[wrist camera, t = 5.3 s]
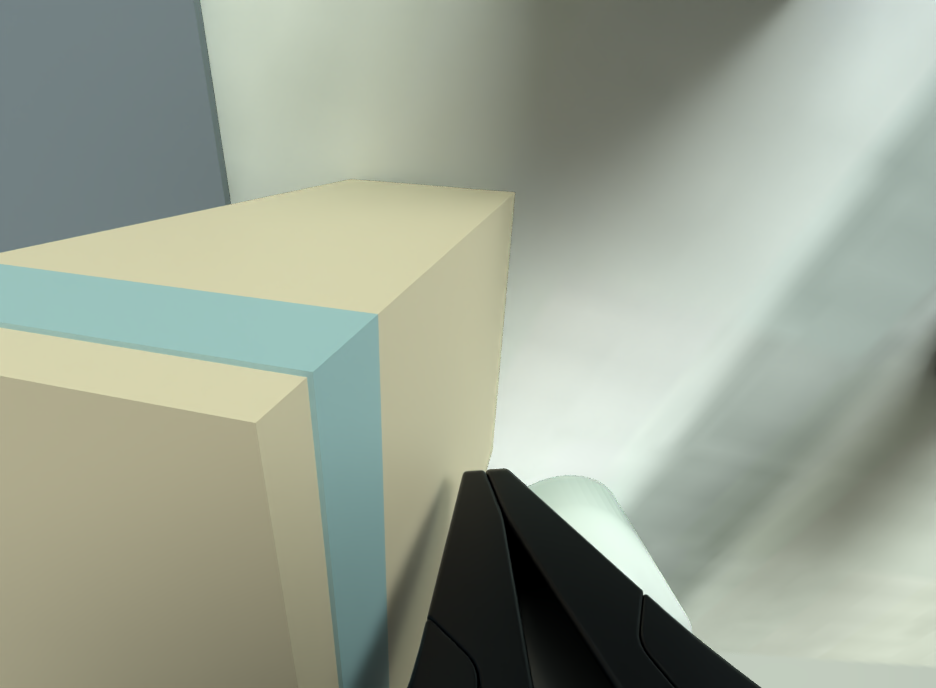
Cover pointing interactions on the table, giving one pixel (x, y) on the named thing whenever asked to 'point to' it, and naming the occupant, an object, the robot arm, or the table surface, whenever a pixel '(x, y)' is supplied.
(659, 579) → the white rounded cylinder
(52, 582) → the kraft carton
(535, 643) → the robot arm
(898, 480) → the table surface
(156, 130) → the mat
